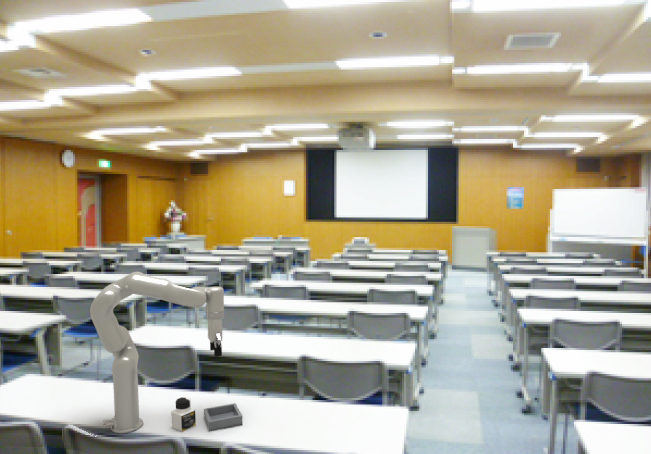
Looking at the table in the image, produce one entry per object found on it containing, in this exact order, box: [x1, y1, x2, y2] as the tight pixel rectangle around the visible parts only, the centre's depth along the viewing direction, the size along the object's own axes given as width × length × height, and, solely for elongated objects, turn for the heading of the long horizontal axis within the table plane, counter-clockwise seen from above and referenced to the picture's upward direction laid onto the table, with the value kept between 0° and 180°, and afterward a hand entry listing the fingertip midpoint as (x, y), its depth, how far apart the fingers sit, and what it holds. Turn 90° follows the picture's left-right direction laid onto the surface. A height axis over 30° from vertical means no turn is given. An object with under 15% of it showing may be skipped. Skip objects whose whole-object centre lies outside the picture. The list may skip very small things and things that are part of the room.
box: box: [203, 402, 243, 433], centre depth 205 cm, size 14×14×4 cm
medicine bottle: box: [171, 396, 197, 432], centre depth 200 cm, size 7×7×12 cm
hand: (215, 352), depth 211 cm, fingers open, 9 cm apart
